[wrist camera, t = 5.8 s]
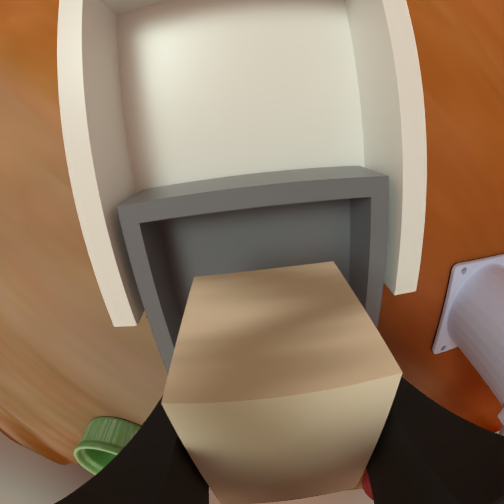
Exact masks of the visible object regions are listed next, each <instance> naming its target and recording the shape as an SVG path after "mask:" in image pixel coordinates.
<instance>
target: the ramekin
mask: <svg viewBox="0 0 504 504" xmlns="http://www.w3.org/2000/svg"><path fill="white" fill-rule="evenodd" d="M140 427H141V426H140V425H138V424H135V423H133V422H130V421H127V420H124V419H120V418H115V417H98V418H95V419H93V420H92V421H91V422H90V423H89V425H88V426H87V429H86V431H85V433H84V435H83V437H82V439H81V441H80V443H79V444H78V445H77V446H76V448H75V450H74V457H75V458H76V460H77V461H78V462H79V463H80V464H81V465H82V466H83V467H84V468H85V469H87V470H88V471H89V472H91V473H93V474H94V475H96V474H97V473H98V472H100V471H101V470H102V469H103V468H104V467H105V466H106V465H107V464H108V463H109V462H110V461H111V460H112V459H113V458H114V457H115V456H116V455H117V454H118V453H119V452H120V451H121V450H122V449H123V448H124V447H125V446H126V445H127V443H128V442H129V441H130V440H131V439H132V438H133V436H134V435H135V434H136V433H137V431H138V430H139V429H140Z"/></svg>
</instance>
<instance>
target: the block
mask: <svg viewBox="0 0 504 504" xmlns="http://www.w3.org/2000/svg"><path fill="white" fill-rule="evenodd" d="M402 373H403V372H402V371H401V369H400V367H399V365H398V364H397V362H396V360H395V359H394V357H393V355H392V353H391V352H390V350H389V348H388V347H387V345H386V343H385V342H384V340H383V338H382V337H381V335H380V333H379V332H378V330H377V328H376V327H375V325H374V324H373V322H372V320H371V319H370V317H369V316H368V314H367V312H366V311H365V309H364V308H363V306H362V304H361V303H360V301H359V300H358V298H357V297H356V295H355V293H354V292H353V290H352V289H351V287H350V286H349V284H348V283H347V281H346V280H345V278H344V276H343V275H342V273H341V272H340V270H339V269H338V267H337V266H336V264H335V263H334V261H330V262H322V263H314V264H306V265H297V266H289V267H281V268H272V269H263V270H254V271H245V272H236V273H227V274H218V275H208V276H199V277H194V279H193V282H192V286H191V290H190V293H189V297H188V300H187V304H186V307H185V311H184V315H183V318H182V322H181V326H180V330H179V333H178V337H177V341H176V345H175V349H174V353H173V357H172V361H171V365H170V369H169V373H168V377H167V381H166V385H165V390H164V394H163V398H162V403H161V404H162V406H163V408H164V410H165V412H166V414H167V416H168V417H169V419H170V421H171V423H172V425H173V427H174V429H175V431H176V432H177V434H178V436H179V438H180V440H181V441H182V443H183V445H184V447H185V448H186V450H187V452H188V453H189V455H190V457H191V458H192V460H193V462H194V463H195V465H196V467H197V468H198V470H199V471H200V473H201V475H202V476H203V478H204V479H205V481H206V482H207V484H208V485H209V487H210V488H211V490H212V491H213V493H214V494H215V495H216V497H217V499H218V500H219V501H220V503H221V504H253V503H267V502H278V501H287V500H294V499H301V498H308V497H314V496H319V495H325V494H330V493H335V492H339V491H344V490H348V489H352V488H356V486H357V484H358V482H359V480H360V478H361V476H362V474H363V472H364V470H365V468H366V466H367V464H368V462H369V459H370V457H371V455H372V453H373V451H374V448H375V446H376V444H377V441H378V439H379V437H380V434H381V432H382V429H383V427H384V424H385V422H386V419H387V416H388V414H389V411H390V408H391V406H392V403H393V400H394V397H395V394H396V391H397V388H398V385H399V382H400V379H401V376H402Z"/></svg>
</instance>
